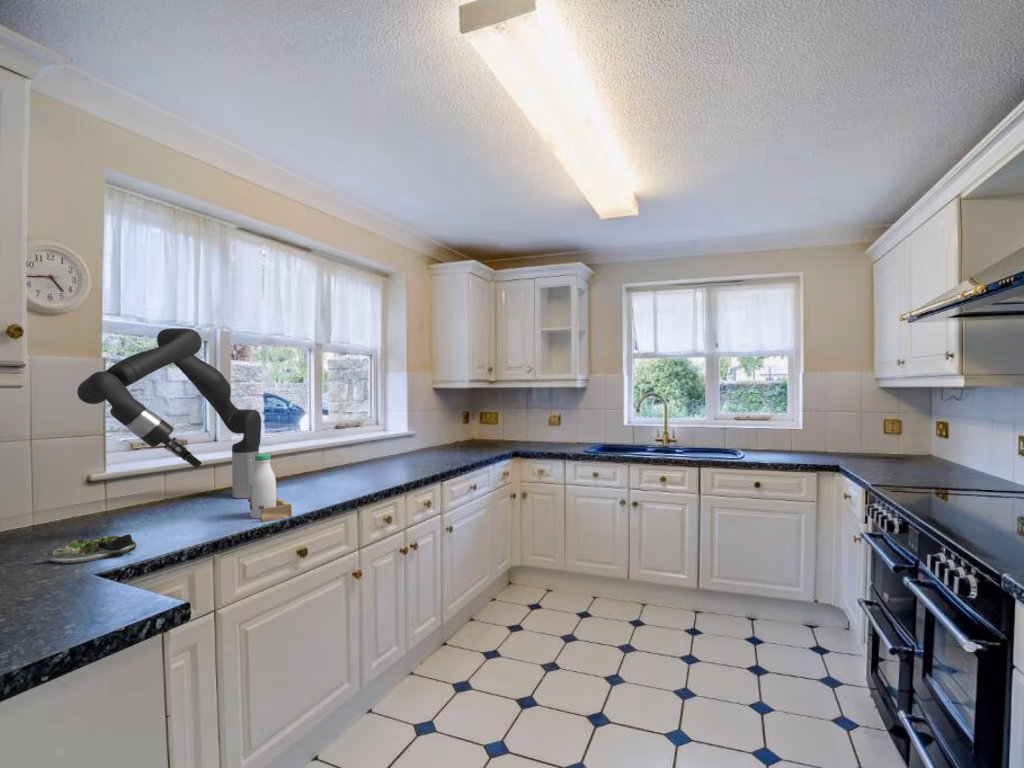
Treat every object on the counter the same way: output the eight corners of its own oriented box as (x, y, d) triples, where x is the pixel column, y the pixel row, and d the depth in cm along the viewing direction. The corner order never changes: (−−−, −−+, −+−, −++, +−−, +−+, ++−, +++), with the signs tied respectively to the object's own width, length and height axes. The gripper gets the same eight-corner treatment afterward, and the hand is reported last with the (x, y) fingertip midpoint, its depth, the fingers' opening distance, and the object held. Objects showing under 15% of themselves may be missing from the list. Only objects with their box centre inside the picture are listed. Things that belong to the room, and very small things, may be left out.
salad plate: (39, 574, 122) (38, 554, 122) (36, 556, 136) (36, 538, 136) (140, 555, 136) (140, 537, 136) (129, 540, 149) (129, 524, 149)
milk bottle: (281, 513, 176) (281, 453, 176) (265, 519, 169) (265, 456, 169) (261, 512, 178) (260, 452, 178) (244, 518, 171) (244, 455, 171)
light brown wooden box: (248, 513, 177) (247, 499, 177) (277, 509, 183) (277, 495, 183) (260, 522, 166) (259, 506, 166) (291, 517, 172) (291, 502, 172)
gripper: (163, 419, 151) (213, 458, 158) (158, 416, 161) (204, 453, 169) (141, 439, 147) (192, 478, 155) (136, 435, 157) (185, 472, 165)
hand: (199, 465), depth 162 cm, fingers closed
